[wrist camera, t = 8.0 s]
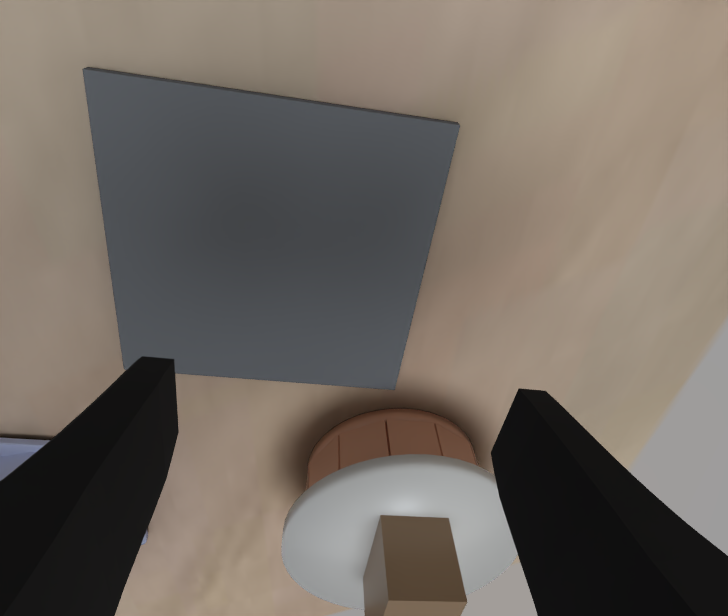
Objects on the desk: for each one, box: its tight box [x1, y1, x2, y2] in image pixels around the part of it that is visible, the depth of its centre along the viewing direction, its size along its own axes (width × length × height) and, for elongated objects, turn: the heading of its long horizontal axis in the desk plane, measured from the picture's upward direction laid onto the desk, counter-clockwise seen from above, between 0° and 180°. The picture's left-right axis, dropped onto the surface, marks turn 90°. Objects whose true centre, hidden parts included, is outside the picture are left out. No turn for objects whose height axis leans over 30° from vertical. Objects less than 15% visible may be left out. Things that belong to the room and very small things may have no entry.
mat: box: [83, 67, 460, 390], centre depth 19 cm, size 12×12×1 cm
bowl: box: [305, 408, 479, 491], centre depth 25 cm, size 9×9×4 cm
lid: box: [282, 454, 518, 616], centre depth 22 cm, size 11×11×4 cm
